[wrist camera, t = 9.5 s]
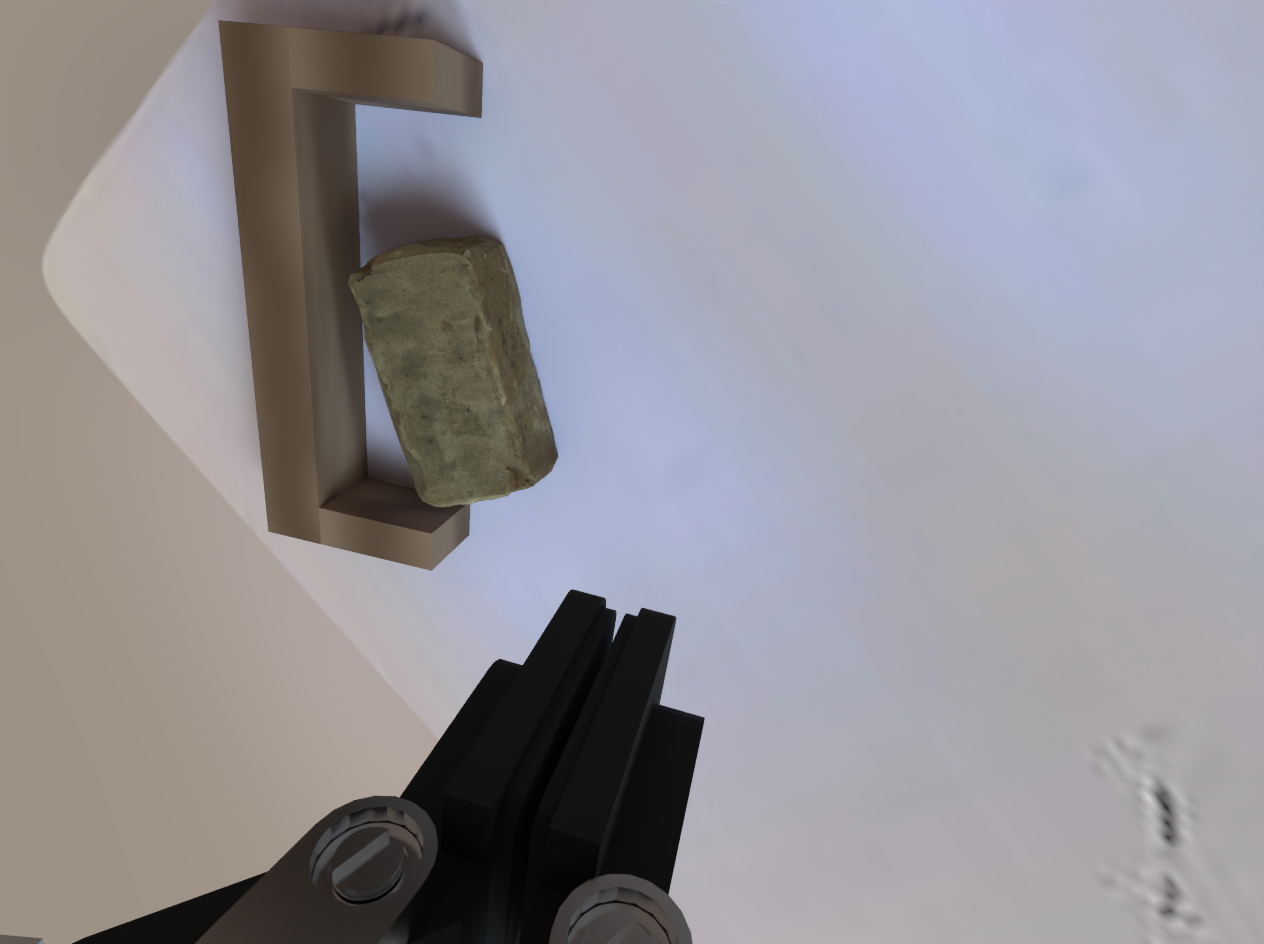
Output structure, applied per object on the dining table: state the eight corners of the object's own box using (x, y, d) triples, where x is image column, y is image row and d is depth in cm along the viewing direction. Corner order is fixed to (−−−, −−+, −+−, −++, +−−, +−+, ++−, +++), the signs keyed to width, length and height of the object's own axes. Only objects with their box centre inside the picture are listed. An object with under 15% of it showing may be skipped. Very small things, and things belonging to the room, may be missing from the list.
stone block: (467, 479, 35) (417, 517, 30) (396, 254, 32) (328, 258, 27) (570, 464, 33) (532, 502, 29) (506, 224, 30) (453, 223, 25)
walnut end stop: (482, 63, 28) (434, 39, 24) (468, 535, 36) (431, 570, 32) (291, 45, 29) (218, 20, 25) (320, 501, 37) (268, 531, 34)
